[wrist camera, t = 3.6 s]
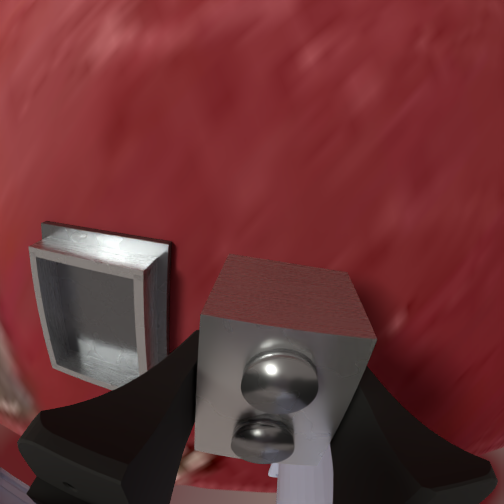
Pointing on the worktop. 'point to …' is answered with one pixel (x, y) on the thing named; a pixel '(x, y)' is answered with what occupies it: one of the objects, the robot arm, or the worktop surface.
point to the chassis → (102, 301)
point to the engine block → (278, 360)
